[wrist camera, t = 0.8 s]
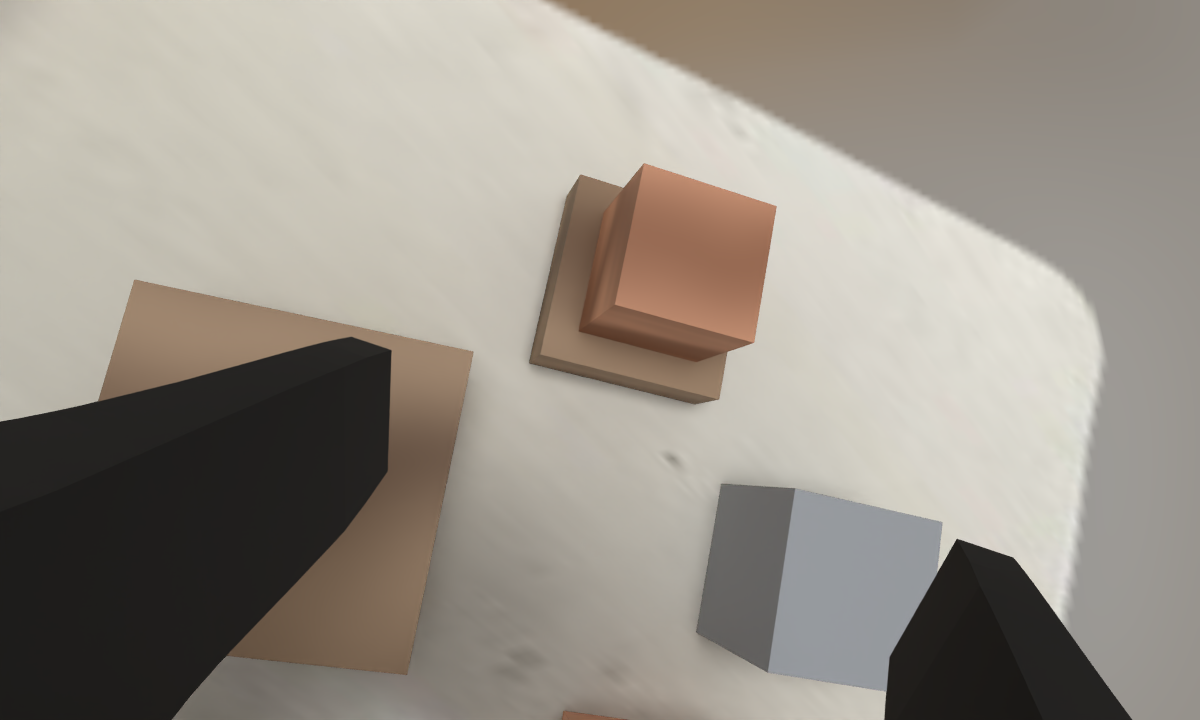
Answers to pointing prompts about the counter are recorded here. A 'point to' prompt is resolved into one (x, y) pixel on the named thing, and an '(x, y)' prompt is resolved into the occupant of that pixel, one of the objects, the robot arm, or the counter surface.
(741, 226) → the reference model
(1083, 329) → the counter surface
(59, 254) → the counter surface
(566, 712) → the terracotta block
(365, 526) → the walnut base
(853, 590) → the grey block
